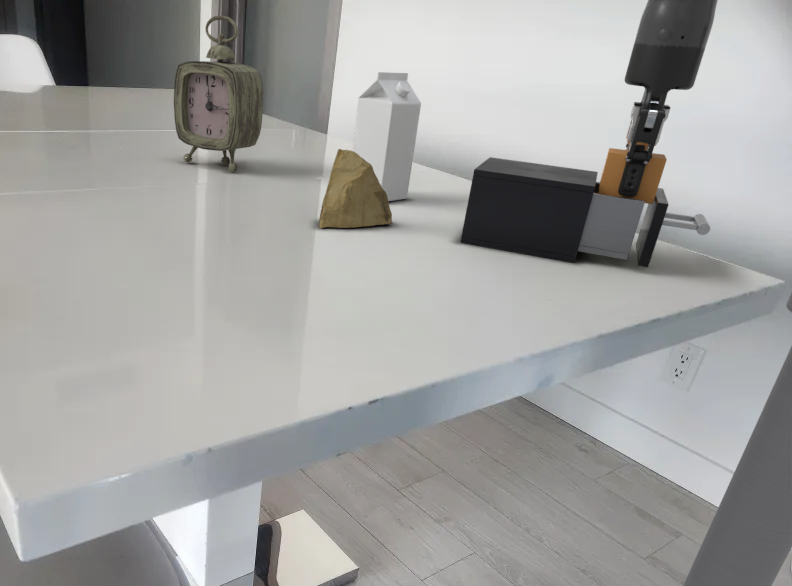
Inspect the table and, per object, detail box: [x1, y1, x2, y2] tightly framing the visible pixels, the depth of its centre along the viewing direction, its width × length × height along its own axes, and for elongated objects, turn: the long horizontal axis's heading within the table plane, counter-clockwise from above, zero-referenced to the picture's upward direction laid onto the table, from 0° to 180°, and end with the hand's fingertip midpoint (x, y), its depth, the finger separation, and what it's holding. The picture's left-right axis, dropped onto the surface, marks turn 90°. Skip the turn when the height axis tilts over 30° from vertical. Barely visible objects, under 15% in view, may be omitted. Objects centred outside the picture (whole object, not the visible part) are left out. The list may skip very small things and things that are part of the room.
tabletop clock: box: [173, 15, 264, 173], centre depth 121 cm, size 14×9×25 cm, turn 56°
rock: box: [318, 148, 393, 229], centre depth 93 cm, size 11×9×10 cm
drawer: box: [577, 181, 711, 268], centre depth 87 cm, size 19×11×8 cm, turn 66°
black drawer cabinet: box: [460, 156, 599, 264], centre depth 91 cm, size 15×13×10 cm
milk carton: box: [352, 71, 422, 202], centre depth 108 cm, size 7×7×19 cm
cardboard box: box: [598, 147, 668, 205], centre depth 85 cm, size 6×5×5 cm
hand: (626, 191), depth 86 cm, fingers closed on cardboard box, 4 cm apart
